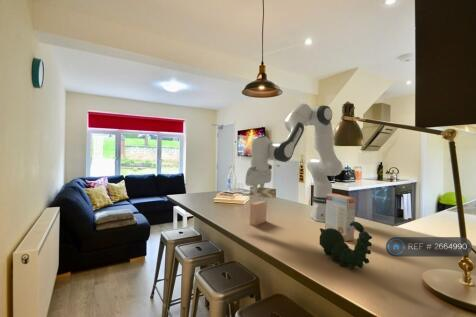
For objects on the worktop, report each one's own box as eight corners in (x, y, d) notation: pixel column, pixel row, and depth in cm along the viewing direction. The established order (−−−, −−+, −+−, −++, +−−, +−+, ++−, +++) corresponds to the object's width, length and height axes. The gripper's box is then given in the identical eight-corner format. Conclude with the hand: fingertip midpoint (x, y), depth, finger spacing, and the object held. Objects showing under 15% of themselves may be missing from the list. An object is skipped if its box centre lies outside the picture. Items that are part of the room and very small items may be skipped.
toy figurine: (373, 278, 86) (326, 245, 109) (380, 227, 84) (331, 204, 107) (352, 282, 83) (309, 247, 106) (359, 229, 80) (313, 205, 104)
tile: (265, 221, 145) (266, 201, 145) (255, 225, 136) (255, 204, 135) (260, 219, 148) (261, 200, 147) (249, 224, 138) (249, 203, 138)
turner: (277, 197, 125) (277, 188, 125) (271, 199, 120) (271, 190, 120) (240, 191, 140) (240, 183, 139) (233, 192, 135) (233, 185, 135)
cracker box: (354, 240, 118) (356, 198, 117) (344, 242, 115) (347, 198, 115) (333, 231, 131) (335, 192, 130) (324, 232, 128) (326, 193, 128)
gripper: (253, 167, 118) (252, 196, 118) (273, 165, 134) (273, 190, 135) (242, 167, 121) (242, 194, 122) (263, 165, 138) (263, 189, 138)
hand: (258, 192), depth 128 cm, fingers closed on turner, 3 cm apart
